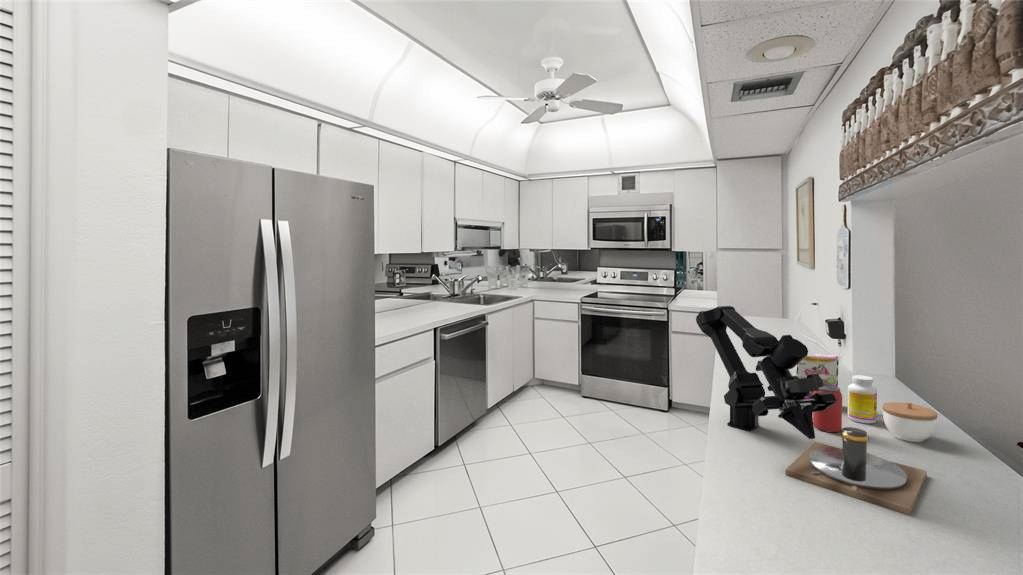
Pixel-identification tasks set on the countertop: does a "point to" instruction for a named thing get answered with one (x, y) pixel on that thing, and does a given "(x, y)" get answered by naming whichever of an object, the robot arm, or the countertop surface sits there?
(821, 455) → the dial
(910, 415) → the lidded jar
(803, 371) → the candy bar box
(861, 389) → the supplement bottle
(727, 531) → the countertop surface
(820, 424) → the beer can
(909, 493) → the base plate
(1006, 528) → the countertop surface
